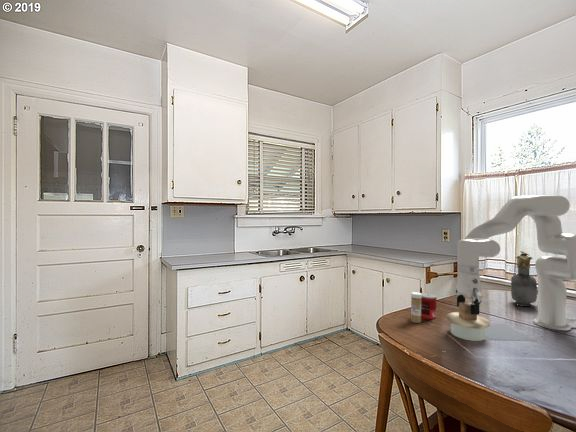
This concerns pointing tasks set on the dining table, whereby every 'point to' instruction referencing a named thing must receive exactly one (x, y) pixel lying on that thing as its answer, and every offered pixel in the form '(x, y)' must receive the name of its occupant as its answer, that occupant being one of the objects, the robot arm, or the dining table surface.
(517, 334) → the mat
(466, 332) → the bowl
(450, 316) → the lid
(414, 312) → the sprinkles bottle
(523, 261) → the grey vase
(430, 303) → the canned food
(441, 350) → the dining table surface
